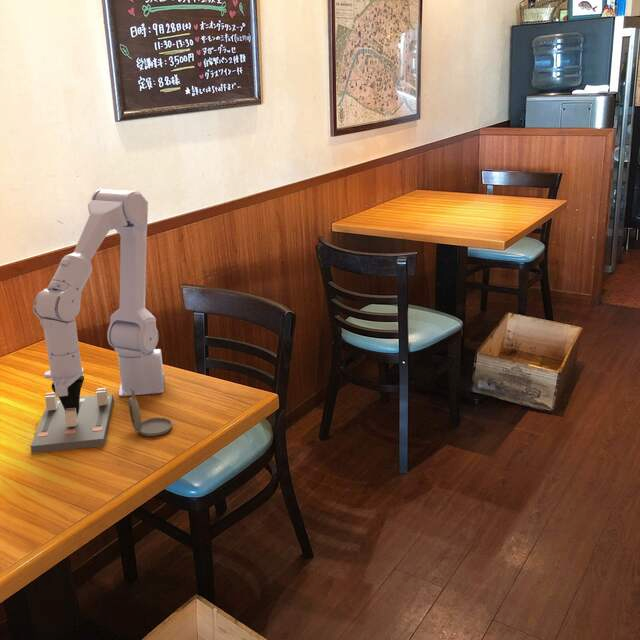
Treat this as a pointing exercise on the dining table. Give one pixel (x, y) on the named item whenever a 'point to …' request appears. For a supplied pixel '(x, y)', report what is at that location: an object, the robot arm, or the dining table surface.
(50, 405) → the handle
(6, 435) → the dining table surface
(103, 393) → the handle
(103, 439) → the panel
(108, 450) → the dining table surface
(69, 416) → the handle
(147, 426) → the pocket watch
